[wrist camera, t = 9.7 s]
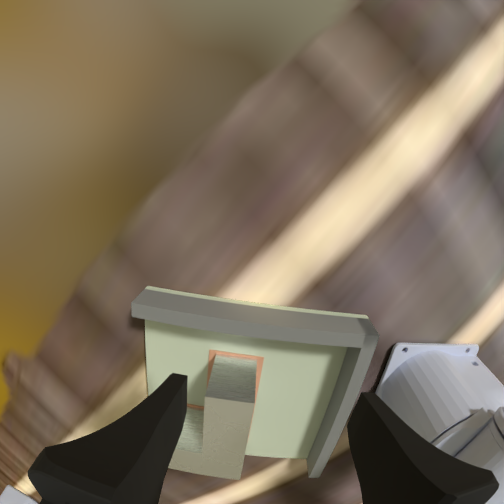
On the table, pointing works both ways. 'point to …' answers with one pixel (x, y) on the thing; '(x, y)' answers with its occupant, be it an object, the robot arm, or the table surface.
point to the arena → (264, 364)
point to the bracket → (219, 421)
